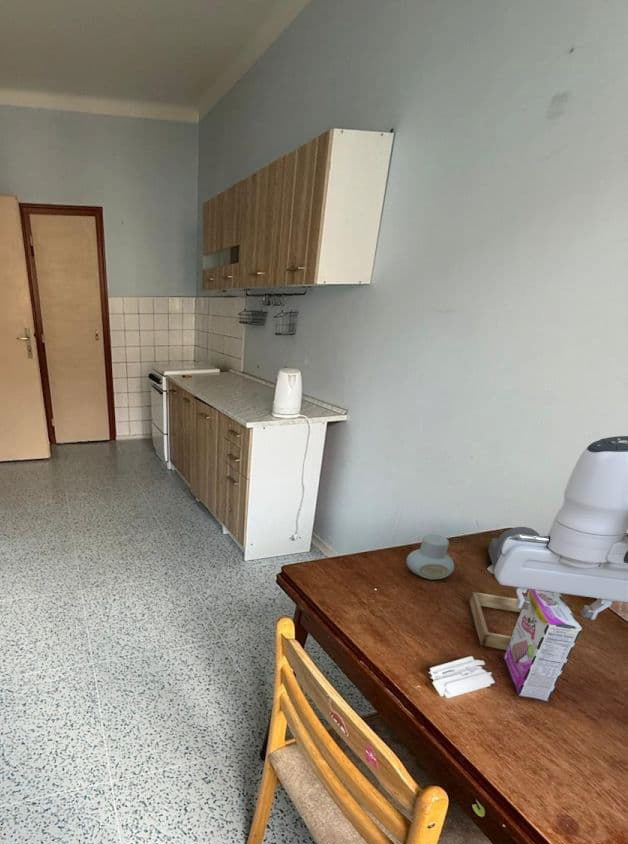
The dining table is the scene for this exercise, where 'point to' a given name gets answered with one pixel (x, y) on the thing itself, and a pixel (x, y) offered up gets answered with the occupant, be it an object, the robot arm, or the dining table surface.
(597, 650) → the dining table surface
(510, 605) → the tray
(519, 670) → the candy bar box
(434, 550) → the air freshener
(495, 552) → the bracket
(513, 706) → the dining table surface
